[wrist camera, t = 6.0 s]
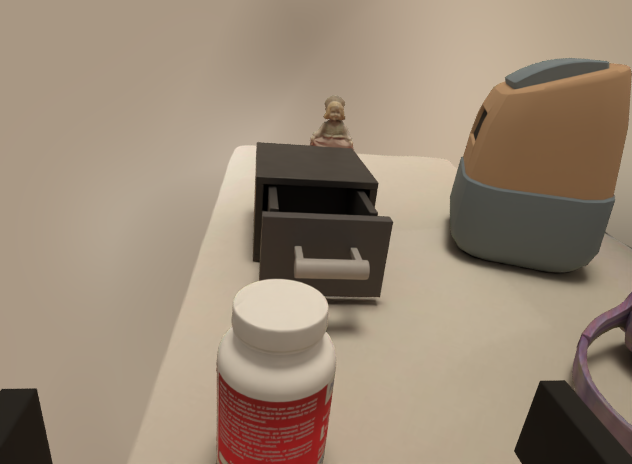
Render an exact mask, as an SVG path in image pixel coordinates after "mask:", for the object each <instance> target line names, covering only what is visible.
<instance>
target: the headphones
mask: <svg viewBox="0 0 632 464" xmlns="http://www.w3.org/2000/svg"><path fill="white" fill-rule="evenodd" d="M617 327H620V329H621V330H623V331H624V332H625V344H626V346H627V348H628V349H629V350H630V351H631V352H632V292H631V293H630V294H629V295H628V297H627V298H626V299H625V301H624V302H622V303H621V304H620V305H618V306H617V307H615V308H613V309H611V310H609V311H607V312H605V313H603V314H601V315H600V316H598V317H597V318H595V319H594V320H593V321H592V322H591V323H590V324H589V325H588V326H587V328H586V329H585V330H584V332H583V333H582V335H581V337H580V340H579V342H578V345H577V351H576V355H575V359H574V363H573V372H572V373H573V384H574V388H575V392H576V394H577V395H578V396H579V397H580V398H581V399H582V401H583V402H584V403H585V404H586V405H587V406H588V407H589V409H590V410H591V411H592V412H593V413H594V414H595V415H596V417H597V418H598V419H599V420H600V421H601V422H602V423H603V425H604V426H605V427H606V428H607V429H608V430H609V431H610V433H611V434H612V435H613V436H614V437H615V438H616V440H617V441H618V442H619V443H620V444H621V445H622V446H623V448H624V449H625V450H626V451H627V452H628V453H629V454H630V456H631V457H632V425H630V424H629V423H628V422H627V421H626V420H625V419H624V418H623V417H622V416H621V415H620V414H619V413H618V412H616V411H615V410H614V409H613V408H612V406H611V405H610V404H609V403H608V402H607V400H606V399H605V398H604V397H603V395H602V394H601V393H600V392H599V390H598V389H597V387H596V385H595V384H594V382H593V381H592V378H591V375H590V372H589V370H588V366H587V349H588V347H589V346H590V344H591V343H592V342H593V341H594V340H595V339H596V338H598V337H599V336H600V335H602V334H603V333H605V332H607V331H609V330H611V329H613V328H617Z"/></svg>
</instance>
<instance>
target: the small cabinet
mask: <svg viewBox="0 0 632 464" xmlns="http://www.w3.org/2000/svg"><path fill="white" fill-rule="evenodd" d="M267 184H273V185H293V186H312V187H332V188H352V189H363V190H364V192H365V194H366V195H367V197H368V198H369V200H370V201H371V203H372V205H373V206H374V208H375V202H376V196H377V189H378V182H377V180H376V179H375V178H374V177H373V175H372V174H371V173H370V171H369V170H368V169H367V167H366V166H365V165H364V164H363V162H362V161H361V160H360V158H359V157H358V156H357V154H356V153H355V152H354V150H353V149H352V148H338V147H322V146H305V145H291V144H275V143H260V142H258V143H257V150H256V176H255V202H254V236H253V261H260V250H261V228H262V212H263V211H266V198H267Z"/></svg>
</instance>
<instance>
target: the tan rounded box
mask: <svg viewBox="0 0 632 464" xmlns="http://www.w3.org/2000/svg"><path fill="white" fill-rule="evenodd" d="M631 76H632V73H631V69H630V67H629V66H627V65H622V64H612V63H609V62H607V61H600V60H590V59H575V58H565V59H554V60H547V61H542V62H539V63H535V64H532V65H530V66H527V67H524V68H522V69H519V70H517V71H515V72H514V73H512V74H510V75H508V76H506V77H505V80H506V81H505V82H502V83H500V84H498V85H496V86H495V87H494V88H493V89H492V90H491V92H490V93H489V95H488V96H487V98H486V99H485V101H484V102H483V104H482V106H481V108H480V110H479V112H478V114H477V116H476V119H475V122H474V124H473V127H472V130H471V132H470V136H469V139H468V142H467V146H466V149H465V152H464V156H463V157H461V160H460V164H459V167H458V170H457V174H456V177H455V181H454V185H453V188H452V192H451V195H450V227H451V235H452V237H453V238H454V240H455V242H456V244H457V245H458V247H459V248H460V249H462V250H464V251H465V252H467V253H469V254H470V255H472V256H474V257H478V258H481V259H484V260H489V261H494V262H499V263H504V264H509V265H515V266H520V267H525V268H530V269H535V270H540V271H545V272H570V271H573V270H576V269H579V268H581V267H583V266H585V265H588V263H589V262H590V261H591V260H592V259H593V258H594V257H595V256H596V255H597V254H598V252H599V249H600V246H601V243H602V240H603V237H604V233H605V230H606V227H607V224H608V220H609V218H610V214H611V211H612V208H613V205H614V202H615V196H614V190H615V186H616V181H617V177H618V172H619V167H620V163H621V158H622V153H623V148H624V144H625V139H626V135H627V130H628V121H629V106H630V90H631Z"/></svg>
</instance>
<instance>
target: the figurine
mask: <svg viewBox="0 0 632 464" xmlns="http://www.w3.org/2000/svg"><path fill="white" fill-rule="evenodd" d="M344 106H345V101H344V100H343V99H342V98H341V97H339V96H331V97H329V98H328V99H327V100H326V101H325V107H326V108H325V110H326V113H325V115H324V118H325V119H329V120H328V121H327V122H324V123H323V124H322V125H321V127H320V128H319V130H318V131H316V132H314V133H313V136H312V137H311V143H310V146H322V147H338V148H352V149H353V142H352V138H351V136H350V134H349V131H348V129H347V126H346V125H345V124H344V123H343V121H342V120H344V119H345V116H344V108H343V107H344ZM353 150H354V149H353Z"/></svg>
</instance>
